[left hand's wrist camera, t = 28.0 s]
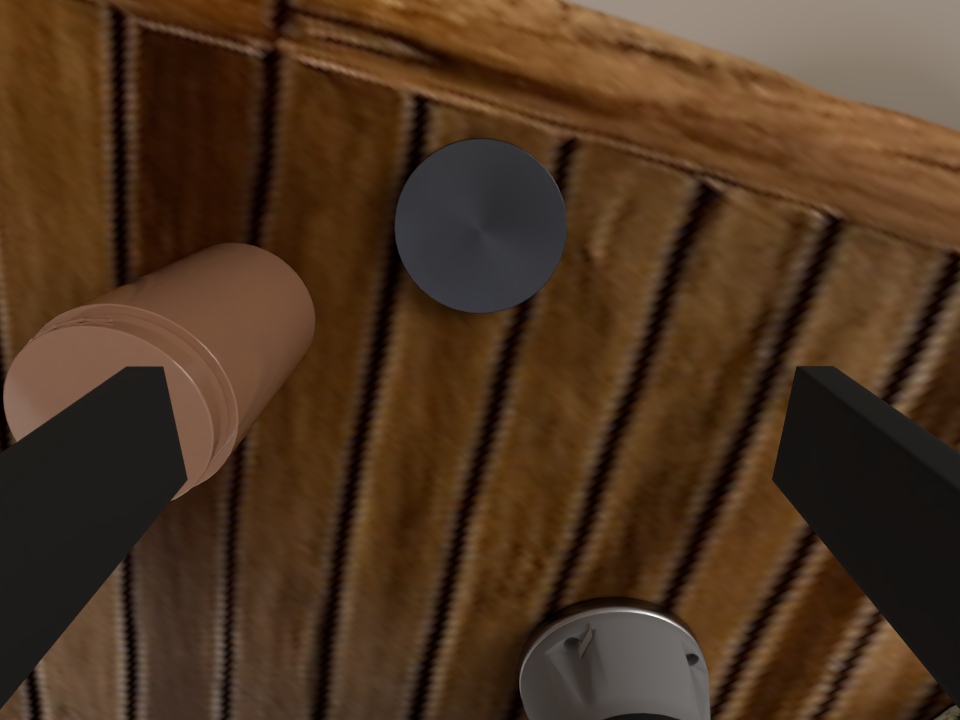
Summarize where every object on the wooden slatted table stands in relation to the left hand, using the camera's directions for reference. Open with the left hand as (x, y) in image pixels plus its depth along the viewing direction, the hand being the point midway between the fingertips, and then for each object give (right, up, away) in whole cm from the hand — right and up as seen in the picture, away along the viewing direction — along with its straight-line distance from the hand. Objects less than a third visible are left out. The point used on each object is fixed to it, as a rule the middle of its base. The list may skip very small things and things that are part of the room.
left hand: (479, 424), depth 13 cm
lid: (0, +9, +22) cm, 24 cm away
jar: (-15, +4, +26) cm, 30 cm away
